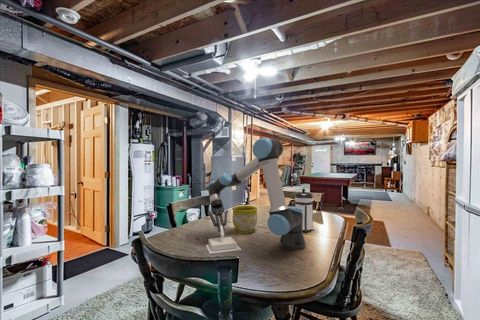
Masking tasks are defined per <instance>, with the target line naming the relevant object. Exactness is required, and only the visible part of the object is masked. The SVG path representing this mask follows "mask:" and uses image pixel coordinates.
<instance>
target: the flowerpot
mask: <svg viewBox="0 0 480 320" xmlns="http://www.w3.org/2000/svg"><path fill="white" fill-rule="evenodd" d="M231 210H232V216H231V217H232V224H233V226H234V230H235V231H236V232H237V233H239V234H251V233H253V232H254V231H255V230H256V229H255V228H256V226H257V223H258V207H257V206H253V205H236V206H233V207H232V208H231Z"/></svg>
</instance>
